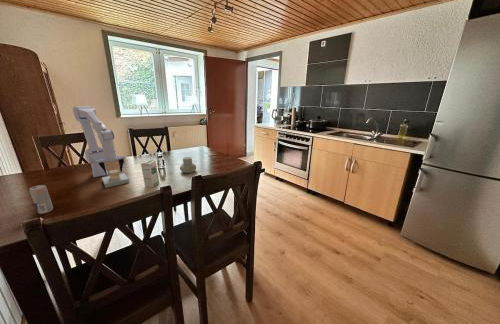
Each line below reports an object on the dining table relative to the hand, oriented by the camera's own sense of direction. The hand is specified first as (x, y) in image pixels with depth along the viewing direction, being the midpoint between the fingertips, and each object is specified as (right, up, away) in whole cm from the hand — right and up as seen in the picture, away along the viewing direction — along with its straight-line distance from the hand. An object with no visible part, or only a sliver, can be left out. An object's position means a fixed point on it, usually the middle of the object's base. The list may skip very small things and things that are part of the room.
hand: (113, 172), depth 123 cm
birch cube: (0, -3, +1) cm, 4 cm away
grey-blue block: (0, -6, +2) cm, 7 cm away
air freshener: (+39, -1, +20) cm, 44 cm away
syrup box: (+24, -7, -1) cm, 25 cm away
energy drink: (-12, -16, -29) cm, 36 cm away
